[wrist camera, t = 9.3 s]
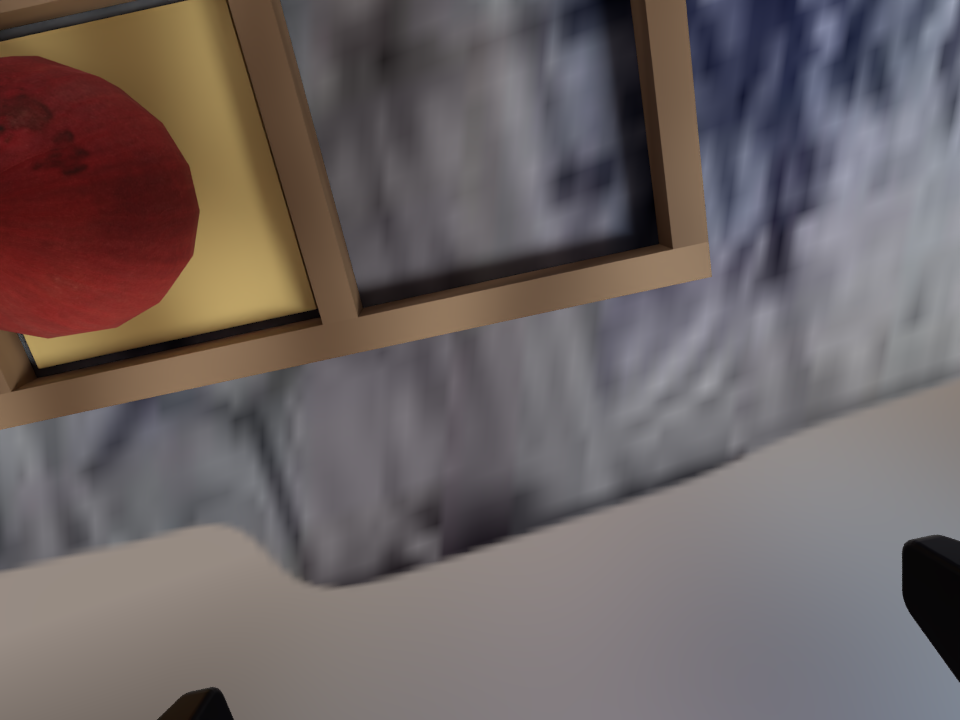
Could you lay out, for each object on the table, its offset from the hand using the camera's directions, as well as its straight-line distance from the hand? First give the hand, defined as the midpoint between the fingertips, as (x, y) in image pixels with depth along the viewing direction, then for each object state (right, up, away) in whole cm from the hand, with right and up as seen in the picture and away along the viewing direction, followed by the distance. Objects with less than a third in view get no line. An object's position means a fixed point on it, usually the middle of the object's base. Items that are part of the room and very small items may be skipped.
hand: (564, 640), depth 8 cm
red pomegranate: (-11, +8, +9) cm, 16 cm away
